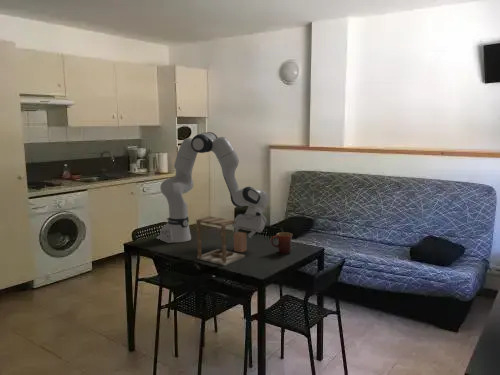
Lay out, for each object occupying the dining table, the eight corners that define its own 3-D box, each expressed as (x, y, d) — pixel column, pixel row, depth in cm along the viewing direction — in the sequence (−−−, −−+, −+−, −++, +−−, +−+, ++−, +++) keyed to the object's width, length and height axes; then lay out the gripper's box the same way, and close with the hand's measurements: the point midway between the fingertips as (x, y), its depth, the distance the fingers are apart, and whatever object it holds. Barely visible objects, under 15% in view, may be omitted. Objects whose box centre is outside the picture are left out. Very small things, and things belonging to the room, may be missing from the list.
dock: (197, 258, 225) (196, 219, 222) (218, 251, 238) (217, 213, 235) (224, 265, 214) (223, 224, 211) (244, 257, 227) (244, 218, 224)
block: (234, 250, 238) (233, 233, 237) (239, 248, 242) (239, 231, 241) (241, 252, 235) (240, 234, 234) (246, 250, 239) (246, 232, 238)
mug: (289, 249, 239) (289, 231, 238) (294, 254, 231) (294, 235, 229) (269, 251, 237) (268, 233, 236) (272, 255, 229) (272, 237, 227)
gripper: (236, 210, 250) (225, 230, 243) (264, 214, 237) (254, 235, 231) (241, 216, 254) (230, 236, 247) (269, 220, 241) (259, 241, 235)
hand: (242, 235), depth 239 cm, fingers open, 8 cm apart
